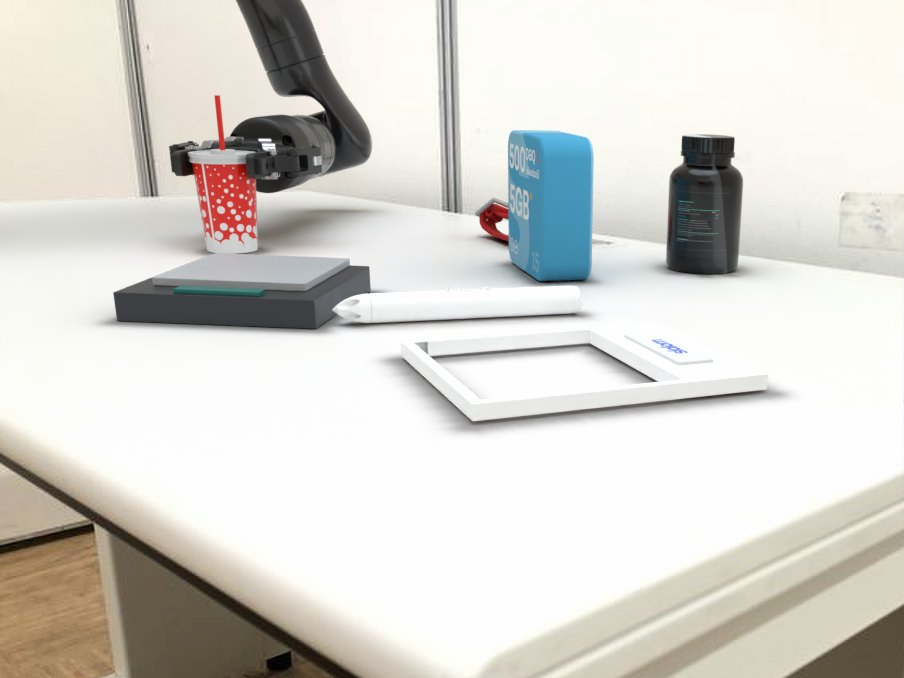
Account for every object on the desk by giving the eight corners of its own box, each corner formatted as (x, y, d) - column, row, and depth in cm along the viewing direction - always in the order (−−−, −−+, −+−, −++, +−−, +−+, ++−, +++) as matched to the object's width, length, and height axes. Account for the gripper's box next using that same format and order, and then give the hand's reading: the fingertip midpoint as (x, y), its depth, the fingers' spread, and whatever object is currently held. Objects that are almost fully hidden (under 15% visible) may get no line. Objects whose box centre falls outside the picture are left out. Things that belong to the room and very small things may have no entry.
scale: (116, 320, 77) (111, 283, 76) (200, 284, 90) (196, 251, 89) (316, 329, 76) (313, 291, 75) (370, 290, 89) (369, 258, 88)
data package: (508, 261, 105) (507, 128, 101) (554, 260, 106) (554, 129, 102) (541, 284, 94) (542, 137, 90) (592, 282, 96) (594, 138, 92)
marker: (334, 328, 77) (332, 294, 76) (331, 321, 78) (329, 288, 78) (581, 315, 83) (581, 284, 82) (572, 310, 85) (572, 279, 84)
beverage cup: (279, 248, 107) (266, 96, 102) (234, 257, 102) (218, 97, 97) (231, 242, 110) (216, 93, 105) (184, 251, 104) (165, 94, 99)
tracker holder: (589, 226, 120) (585, 215, 111) (578, 266, 121) (573, 258, 111) (481, 196, 120) (467, 182, 110) (471, 236, 121) (456, 225, 111)
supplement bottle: (684, 259, 109) (690, 132, 105) (749, 267, 106) (757, 136, 102) (653, 269, 103) (657, 135, 99) (719, 277, 100) (727, 139, 96)
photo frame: (768, 371, 64) (472, 400, 57) (767, 389, 65) (472, 421, 57) (656, 319, 77) (400, 338, 69) (655, 335, 77) (400, 355, 70)
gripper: (206, 112, 115) (130, 119, 100) (343, 117, 115) (288, 125, 99) (214, 186, 118) (141, 204, 102) (347, 191, 117) (294, 210, 102)
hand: (214, 165), depth 101 cm, fingers closed on beverage cup, 6 cm apart
